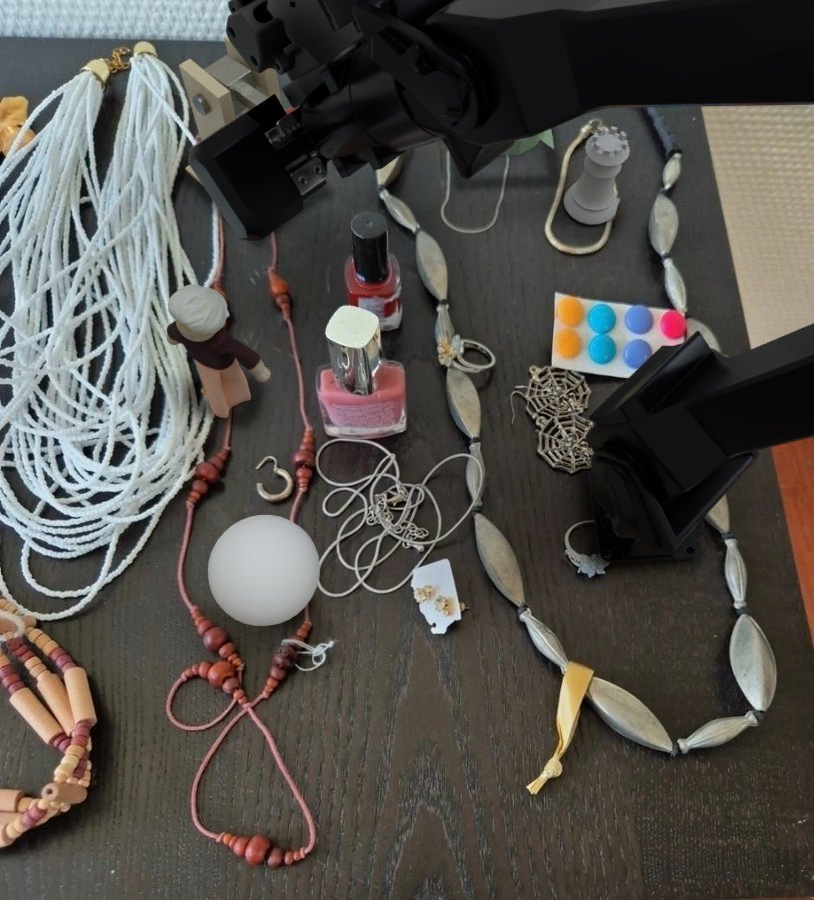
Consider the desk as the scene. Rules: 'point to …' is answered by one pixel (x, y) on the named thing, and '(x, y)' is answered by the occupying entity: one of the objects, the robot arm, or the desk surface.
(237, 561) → the lightbulb
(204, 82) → the switch bracket
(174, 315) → the grandmother figurine
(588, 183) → the rook chess piece
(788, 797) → the desk surface
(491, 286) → the desk surface
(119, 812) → the desk surface
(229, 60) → the switch lever
